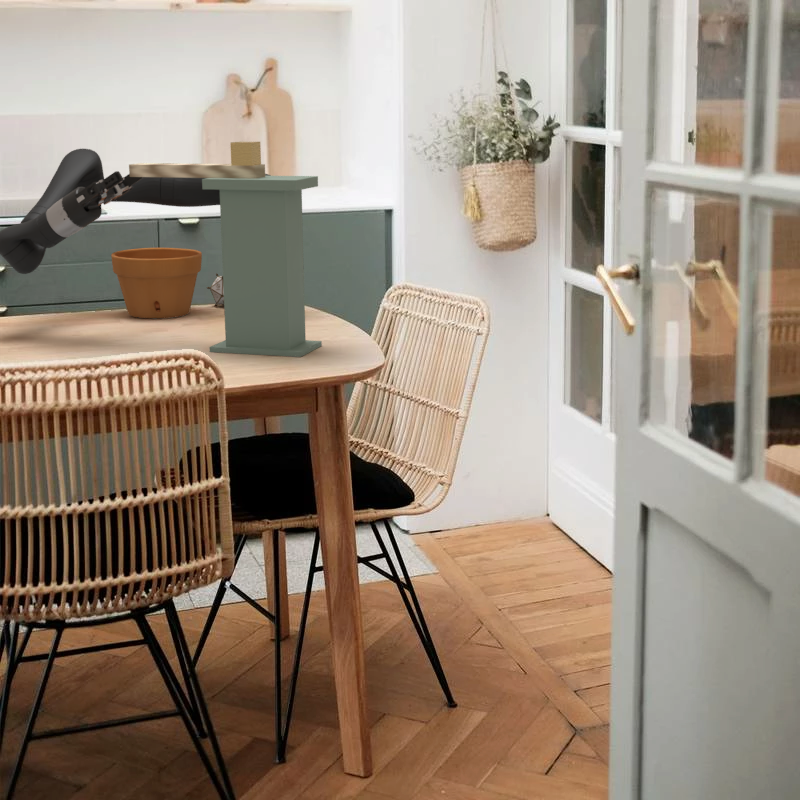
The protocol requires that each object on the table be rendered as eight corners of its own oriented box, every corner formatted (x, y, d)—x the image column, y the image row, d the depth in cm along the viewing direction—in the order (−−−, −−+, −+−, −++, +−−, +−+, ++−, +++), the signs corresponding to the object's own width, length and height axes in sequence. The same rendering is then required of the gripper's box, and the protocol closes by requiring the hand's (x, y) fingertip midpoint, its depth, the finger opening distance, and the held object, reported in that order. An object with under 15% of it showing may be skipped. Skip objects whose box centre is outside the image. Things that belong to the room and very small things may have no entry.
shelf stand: (321, 345, 271) (317, 176, 263) (300, 356, 260) (295, 180, 252) (233, 341, 277) (227, 175, 269) (209, 351, 266) (202, 179, 258)
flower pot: (218, 308, 319) (215, 248, 315) (181, 323, 299) (178, 259, 295) (139, 305, 324) (136, 246, 321) (99, 319, 304) (94, 256, 301)
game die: (233, 319, 325) (255, 286, 325) (225, 313, 316) (248, 278, 317) (204, 300, 326) (226, 267, 326) (195, 293, 317) (218, 259, 318)
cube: (261, 164, 262) (260, 141, 261) (252, 165, 258) (251, 142, 257) (240, 164, 263) (239, 141, 262) (231, 165, 259) (230, 142, 258)
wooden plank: (265, 176, 263) (264, 164, 262) (255, 178, 258) (254, 165, 258) (141, 175, 271) (140, 163, 270) (129, 176, 266) (128, 164, 266)
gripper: (100, 224, 281) (156, 187, 275) (64, 231, 268) (122, 192, 262) (82, 194, 280) (138, 156, 274) (46, 199, 267) (103, 159, 261)
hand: (130, 174), depth 268 cm, fingers open, 8 cm apart
